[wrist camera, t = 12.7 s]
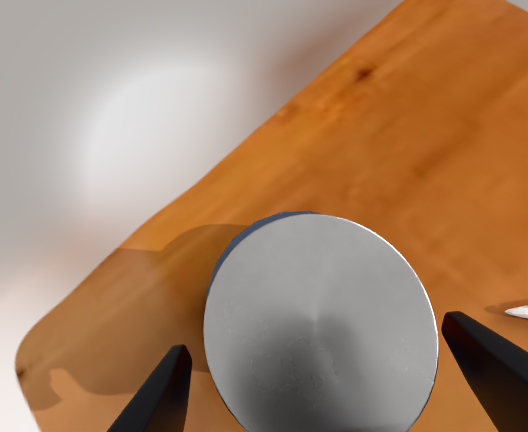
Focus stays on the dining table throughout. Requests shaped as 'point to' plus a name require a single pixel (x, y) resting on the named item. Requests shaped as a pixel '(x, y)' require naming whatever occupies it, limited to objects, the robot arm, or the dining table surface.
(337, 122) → the dining table surface
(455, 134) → the dining table surface
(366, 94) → the dining table surface
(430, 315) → the tin
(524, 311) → the unicorn horn
